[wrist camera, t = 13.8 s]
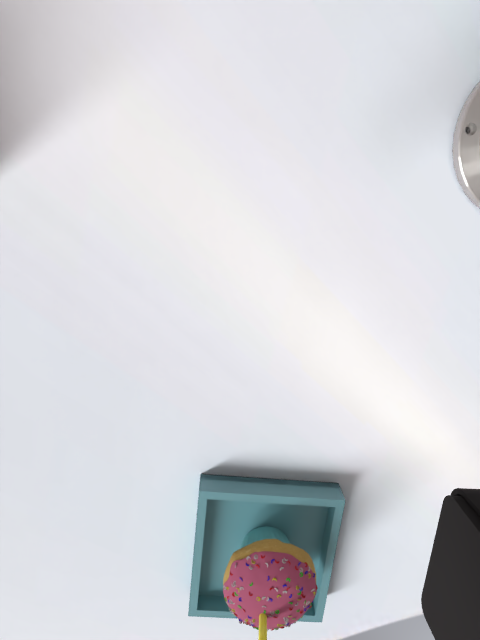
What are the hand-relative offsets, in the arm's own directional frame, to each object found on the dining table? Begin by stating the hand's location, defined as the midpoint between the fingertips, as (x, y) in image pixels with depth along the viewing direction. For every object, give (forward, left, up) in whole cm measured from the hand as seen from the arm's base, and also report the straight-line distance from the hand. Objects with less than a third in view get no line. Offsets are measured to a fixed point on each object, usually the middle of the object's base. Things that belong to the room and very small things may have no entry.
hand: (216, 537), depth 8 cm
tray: (-6, +26, -28) cm, 38 cm away
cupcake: (-6, +25, -27) cm, 37 cm away
